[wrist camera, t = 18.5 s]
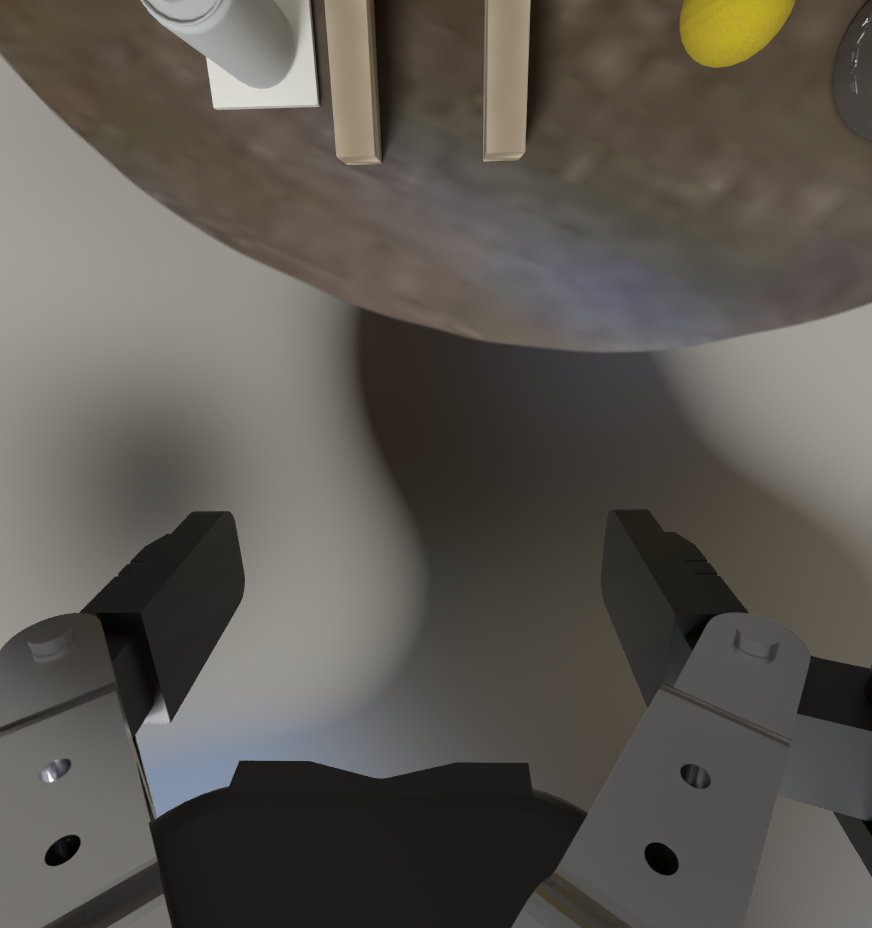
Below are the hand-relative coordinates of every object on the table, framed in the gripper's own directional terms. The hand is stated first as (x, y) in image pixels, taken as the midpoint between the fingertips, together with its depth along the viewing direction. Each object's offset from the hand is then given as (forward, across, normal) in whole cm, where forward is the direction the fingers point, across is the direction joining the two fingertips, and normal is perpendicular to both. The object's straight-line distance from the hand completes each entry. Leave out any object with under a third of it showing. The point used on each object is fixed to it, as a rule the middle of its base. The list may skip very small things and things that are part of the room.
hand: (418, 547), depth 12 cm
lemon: (+33, -17, -18) cm, 41 cm away
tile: (+33, +12, -18) cm, 39 cm away
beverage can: (+33, +11, -18) cm, 39 cm away
